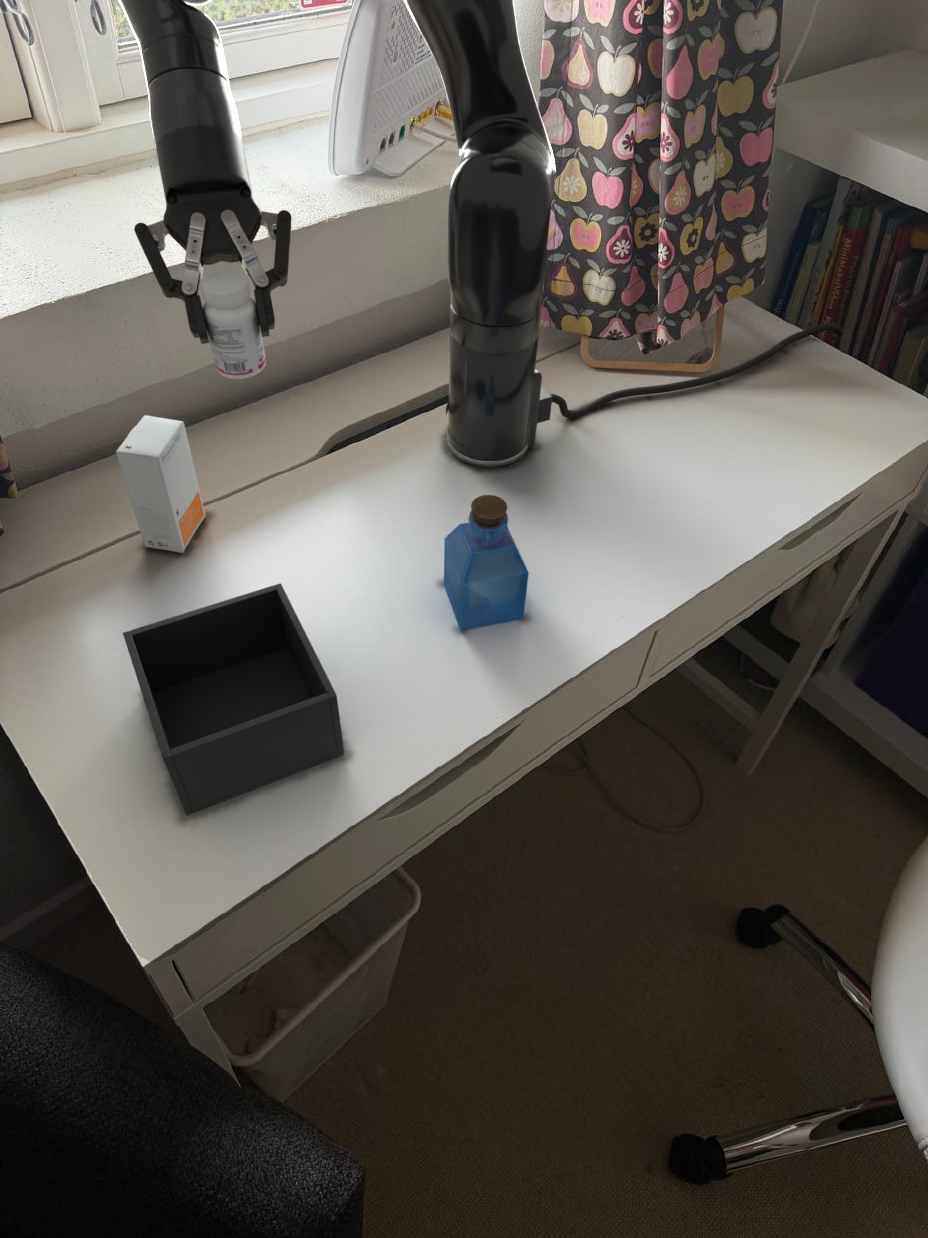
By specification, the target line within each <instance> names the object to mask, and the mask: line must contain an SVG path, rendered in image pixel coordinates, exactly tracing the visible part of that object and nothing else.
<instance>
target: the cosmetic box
mask: <svg viewBox="0 0 928 1238" xmlns="http://www.w3.org/2000/svg"><path fill="white" fill-rule="evenodd" d="M115 454H116V457H117V460H118V463H119V467H120V471H121V473H122V477H123V480H124V483H125V487H126V488H127V493H128V496H129V499H130V503H131V506H132V508H133V512H134V515H135V518H136V521H137V525H138V528H139V531H140V534H141V538H142V541H143V545H144V546H145V547H146V548H151V549H157V550H163V551H169V552H176V553H180V554H183V553H184V552H185V551H186V548H187V546H188V545H189V543H190V541H191V540H192V538H193V537H194V535H195V533H196V532H197V531H198V529H199V527H200V526H201V524H202V523H203V521H204V519H206V513H205V508H204V505H203V499H202V493H201V490H200V486H199V485H200V484H199V481H198V477H197V473H196V469H195V464H194V460H193V456H192V451H191V447H190V444H189V440H188V434H187V429H186V426H185V422H184V421H183V420H177V419H171V418H165V417H158V416H153V415H147V414H145V415H143V416H142V418H141V419H140V420H139V421H138V423H137V424H136V425H135V426H134V427H133V428H132V429H131V430H130V432H128V434H127V436H126V437H125V439H124V440H123V442H122V443H121V444H120V445H119V447H118V448H117V449H116V451H115Z"/></svg>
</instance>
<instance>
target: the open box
mask: <svg viewBox="0 0 928 1238" xmlns="http://www.w3.org/2000/svg"><path fill="white" fill-rule="evenodd" d="M122 636H123V638H124V641H125V644H126V647H127V648H126V649H127V651H128V655H129V657H130V660H131V663H132V667H133V670H134V673H135V676H136V679H137V683H138V685H139V688H140V691H141V695H142V698H143V701H144V704H145V707H146V711H147V713H148V717H149V720H150V723H151V726H152V729H153V732H154V736H155V738H156V741H157V745H158V749H159V751H160V755H161V758H162V759H163V763H164V765H165V767H166V771H167V772H168V774H169V778H170V780H171V782H172V785H173V787H174V790H175V792H176V794H177V797H178V799H179V801H180V804H181V806H182V807H181V808H182V809H183V811H184V814H185V816H189V815H192V814H194V813H197V812H200V811H202V810H204V809H207V808H210V807H212V806H216V805H217V804H221V803H222V802H226V801H228V800H231V799H234V798H235V797H238V796H240V795H243V794H246V793H248V792H251V791H253V790H256V789H259V788H261V787H264V786H266V785H269V784H271V783H274V782H277V781H280V780H282V779H285V778H287V777H290V776H292V775H295V774H297V773H300V772H302V771H305V770H308V769H310V768H313V767H315V766H318V765H320V764H323V763H326V762H328V761H331V760H334V759H336V758H339V757H341V756H344V755H345V748H344V740H343V733H342V724H341V718H340V710H339V703H338V695H337V693H336V691H335V689H334V687H333V684H332V683H331V681H330V679H329V676H328V675H327V673H326V671H325V669H324V667H323V665H322V662H321V660H320V658H319V657H318V655H317V652H316V651H315V649H314V647H313V645H312V643H311V641H310V638H309V637H308V635H307V632H306V631H305V629H304V627H303V625H302V622H301V621H300V619H299V617H298V615H297V612H296V611H295V609H294V606H293V605H292V603H291V601H290V599H289V597H288V594H287V593H286V591H285V589H284V586H283V585H282V583H277V584H274V585H269V586H267V587H264V588H261V589H257V590H253V591H251V592H247V593H245V594H242V595H238V596H234V597H231V598H229V599H226V600H222V601H219V602H216V603H213V604H209V605H207V606H204V607H203V606H202V607H200V608H197V609H193V610H190V611H188V612H184V613H181V614H178V615H175V616H172V617H169V618H165V619H162V620H159V621H156V622H152V623H149V624H146V625H142V626H140V627H136V628H133V629H130V630H127V631H124V632H123V633H122Z"/></svg>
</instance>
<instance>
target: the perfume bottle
mask: <svg viewBox="0 0 928 1238" xmlns="http://www.w3.org/2000/svg"><path fill="white" fill-rule="evenodd" d="M470 509H471V511H469V514H468V522H464V523H459V524H458V525H457V526H456V527H455V528H453V530H452V531H450V533H448V534H447V535H446V536H445V537H444V546H443V547H444V549H443V550H444V553H443V586H444V589H445V592H446V595H447V597H448V600H449V603H450V606H451V608H452V612H453V614H454V617H455V619H456V623H457V625H458V628H459V631H465V630H471V629H476V628H481V627H486V626H487V627H488V626H493V625H497V624H503V623H508V622H514V621H518V620H523V619H524V615H525V607H526V601H527V600H526V598H527V591H528V582H529V576H530V575H529V573H530V572H529V570H528V568H527V566H526V563H525V561H524V559H523V557H522V555H521V552H520V550H519V548H518V545H517V543H516V542H515V539H514V537H513V535H512V533H511V530H510V528H509V525H508V524H509V516H508V513H507V511H508V504H507V502H506V501H505V500H504V498H502V497H500V496H497V495H493V494H482V495H479V496H477V497H475V498H474V499H473V500H472V502H471V504H470Z"/></svg>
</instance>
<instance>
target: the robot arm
mask: <svg viewBox="0 0 928 1238" xmlns="http://www.w3.org/2000/svg"><path fill="white" fill-rule="evenodd" d="M118 2H119V4H120V6H121V8H122V10H123V13H124V14H125V18H126V19H127V21H128V24H129V26H130V29H131V30H132V33H133V35H134V37H135V39H136V42H137V45H138V47H139V52H140V56H141V62H142V68H143V72H144V77H145V83H146V87H147V95H148V103H149V107H148V108H149V118H150V119H149V120H150V125H151V130H152V135H153V144H154V147H155V151H156V156H157V162H158V167H159V173H160V179H161V183H162V188H163V189H162V190H163V194H164V199H165V211H164V214H163V217H162V220H159V221H156V222H154V223H151V224H146V223H144V222H138V223H136V224H135V226H134V228H133V231H134V233H135V236H136V238H137V240H138V242H139V245H140V247H141V250H142V251H143V253H144V255H145V258H146V260H147V262H148V264H149V266H150V268H151V270H152V272H153V274H154V277H155V279H156V281H157V283H158V285H159V287H160V289H161V292H162V294H163V295H164V297H166V298H168V299H172V298H174V299H178V300H181V301H182V302H183V304H184V306H185V311H186V312H185V313H186V315H187V322H188V328H189V330H190V333H191V335H192V336H193V339H197V338H199V340H200V344H201V345H204V344H205V345H206V344H210V341H209V337H208V332H207V328H206V323H205V319H204V314H203V301H202V298H201V296H200V290H201V283H202V281H203V276H204V271H205V266H211V265H215V264H217V263H221V262H225V263H239V264H240V266H241V268H242V270H243V271H244V273H245V275H246V276H247V277H248V279H249V281H250V282H251V285H252V286H253V288H254V289H253V295H254V301H255V303H256V307H257V312H258V318H259V324H260V330H261V335H262V338H264V337H270V330H274V329H275V326H276V325H275V324H276V317H275V313H274V306H273V300H272V297H271V296H272V295H271V293H272V291H273V290H275V289H276V288H278V287H285V286H286V285H287V284H288V279H289V278H288V276H289V264H290V263H289V262H290V250H291V236H292V214H291V213H290V212H289V211H288V210H286V209H281V210H280V211H278V213H276V212H269V211H264V210H261V208H260V206H259V204H258V203H257V202H256V200H255V198H254V195H253V189H252V185H251V179H250V173H249V168H248V164H247V158H246V152H245V146H244V142H243V141H244V140H243V138H244V137H243V132H242V130H241V124H240V120H239V114H238V110H237V107H236V104H235V100H234V97H233V94H232V90H231V86H230V80H229V74H228V70H227V69H228V68H227V63H226V59H225V58H226V57H225V54H224V47H223V44H222V38H221V35H220V32H219V29H218V27H217V26H216V24H215V22H214V21H213V19H212V18H211V17H209V16H208V15H207V14H206V13H204V12H203V11H202V10H200V9H198V8H196V7H194V6H204V5H206V4H208V3H210V2H212V0H118ZM403 2H404V5H405V6H406V8H407V10H408V12H409V14H410V17H411V18H412V20H413V22H414V23H415V25H416V27H417V29H418V31H419V32H420V34H421V36H422V38H423V40H424V42H425V44H426V46H427V47H428V49H429V52H430V53H431V55H432V57H433V59H434V61H435V63H436V66H437V68H438V71H439V73H440V76H441V79H442V83H443V86H444V90H445V93H446V98H447V102H448V105H449V110H450V115H451V119H452V120H451V121H452V123H453V131H454V135H455V141H456V142H455V143H456V148H457V155H458V158H457V164H456V165H455V168H454V172H453V174H452V176H451V180H450V184H449V189H448V198H447V199H448V200H447V280H448V285H449V288H450V308H449V309H450V311H449V315H450V316H449V367H448V368H449V369H448V370H449V371H448V401H447V403H446V406H445V415H446V416H447V414H448V416H447V417H448V419H447V434H446V444H447V447H448V449H449V451H450V452H451V454H452V455H453V456H454V457H455V458H457V459H459V460H460V461H462V462H464V463H466V464H469V465H472V466H475V467H481V468H498V467H503V466H507V465H511V464H513V463H515V462H517V461H519V460H520V459H522V458H523V457H524V455H525V454H526V453H527V451H528V450H530V449H533V448H535V446H536V438H537V429H538V424H539V423H544V422H547V421H550V419H551V414H552V413H551V412H552V403H554V404H556V405H557V406H558V408H559V412H560V414H561V415H562V416H563V417H564V418H568V419H574V418H579V417H582V416H583V415H586V414H589V413H591V412H593V411H594V410H596V409H598V408H600V407H602V406H603V405H606V404H608V403H610V402H613V401H616V400H619V399H624V398H628V397H635V396H644V395H645V396H646V395H653V394H663V393H670V392H675V391H681V390H686V389H690V388H695V387H699V386H704V385H709V384H712V383H715V382H718V381H722V380H725V379H727V378H730V377H733V376H735V375H738V374H740V373H743V372H745V371H747V370H749V369H751V368H753V367H754V366H756V365H758V364H760V363H762V362H764V361H766V360H768V359H770V358H771V357H773V356H776V354H778V353H779V352H780V351H782V350H783V349H784V348H785V347H786V348H787V346H789V345H790V344H792V343H794V342H797V341H799V340H801V339H804V338H808V337H810V336H813V335H815V334H818V333H821V332H826V331H832V332H834V333H835V334H836V335H840V336H841V335H844V334H845V331H844V329H843V328H842V326H840V325H839V324H837V323H833V322H825V323H821V324H817V325H815V326H812V327H809V328H807V329H804V330H801V331H798V332H795V333H793V334H791V335H789V336H787V337H785V338H784V339H782V340H780V342H778V343H777V344H775V345H774V346H773V347H771V348H770V349H768V350H766V351H764V352H763V353H760V354H759V355H757V356H754V357H753V358H751V359H749V360H747V361H745V362H743V363H741V364H738V365H736V366H733V367H730V368H728V369H725V370H722V371H719V372H716V373H713V374H709V375H706V376H702V377H697V378H693V379H688V380H687V379H686V380H683V381H678V382H671V383H666V384H658V385H647V386H639V387H638V386H637V387H631V388H630V387H629V388H624V389H620V390H616V391H612V392H610V393H607V394H604V395H602V396H600V397H599V398H597V399H595V400H594V401H592V402H590V403H588V404H586V405H584V406H582V407H580V408H577V409H568V404H567V401H566V399H564V397H562V396H560V395H558V394H555V393H550V392H548V391H547V389H545V388H544V386H543V385H542V382H543V374H542V373H541V372H540V371H539V370H538V369H537V368H536V365H537V358H538V357H537V356H538V345H539V338H540V337H539V336H540V325H541V315H542V306H543V298H544V297H543V296H544V289H545V284H544V283H545V268H546V260H547V250H548V242H549V241H548V239H549V230H550V220H551V211H552V203H553V196H554V191H555V184H556V174H557V173H556V171H557V170H556V164H555V163H556V161H555V157H554V153H553V149H552V146H551V143H550V140H549V137H548V134H547V131H546V128H545V125H544V122H543V120H542V116H541V113H540V110H539V107H538V103H537V101H536V98H535V95H534V91H533V88H532V87H533V86H532V84H531V82H530V78H529V75H528V72H527V68H526V65H525V61H524V57H523V52H522V49H521V44H520V39H519V33H518V26H517V18H516V10H515V4H514V3H515V2H514V0H403ZM261 226H262V227H264V228H265V229H266V230H267V236H268V238H269V239H270V240H272V241H275V245H274V246H275V248H274V259H273V260H274V262H273V268H270V269H268V270H267V271H265V269H264V268H263V266H262V264H261V262H260V260H259V257H258V255H257V253H256V252H255V250H254V248H253V246H252V245H253V242H254V240H255V239H256V236H257V234H258V232H259V230H260V229H261ZM168 235H169V236H170V237H171V238H172V239H173V240H174V241H175V242H176V243H177V244H178V245H179V246H180V247H181V248H182V249H183V250H184V251H185V256H184V269H183V276H182V280H180V279H176V278H173V277H172V275H171V273H170V271H169V268H168V266H167V265H166V262H165V260H164V258H163V256H162V253H161V252H164V250H165V248H166V241H165V240H166V237H167V236H168Z"/></svg>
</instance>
